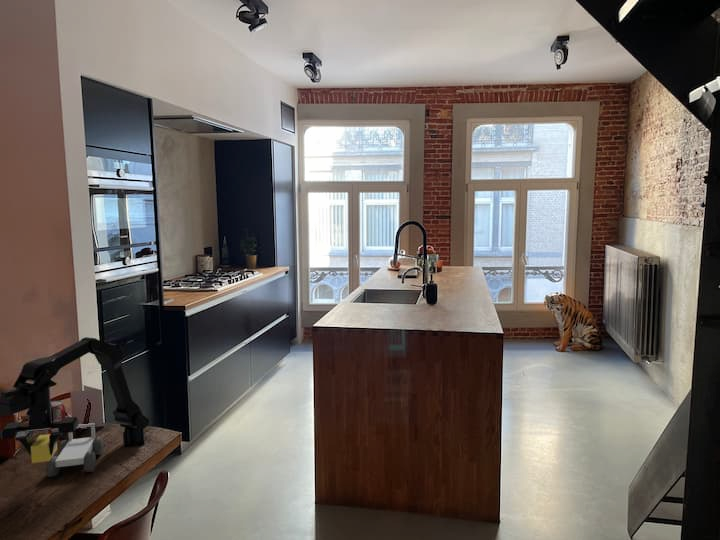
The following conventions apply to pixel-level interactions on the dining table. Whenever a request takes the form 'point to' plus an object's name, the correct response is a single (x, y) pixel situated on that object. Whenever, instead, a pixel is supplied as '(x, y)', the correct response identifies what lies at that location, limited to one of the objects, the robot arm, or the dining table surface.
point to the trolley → (76, 452)
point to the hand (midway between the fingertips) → (42, 455)
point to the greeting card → (81, 403)
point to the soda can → (60, 413)
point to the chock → (41, 449)
